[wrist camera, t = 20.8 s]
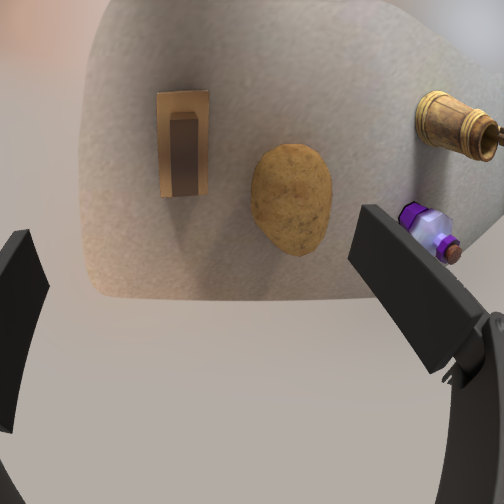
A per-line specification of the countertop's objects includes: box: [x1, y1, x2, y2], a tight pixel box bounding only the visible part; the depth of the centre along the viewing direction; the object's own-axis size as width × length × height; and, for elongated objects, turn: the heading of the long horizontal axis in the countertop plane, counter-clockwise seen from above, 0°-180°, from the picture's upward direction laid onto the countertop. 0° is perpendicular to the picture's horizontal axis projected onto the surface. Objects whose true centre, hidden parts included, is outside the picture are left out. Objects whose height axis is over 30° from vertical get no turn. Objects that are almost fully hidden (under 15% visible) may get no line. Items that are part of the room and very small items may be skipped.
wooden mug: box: [415, 91, 504, 162], centre depth 28 cm, size 9×14×18 cm, turn 106°
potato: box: [251, 144, 332, 257], centre depth 34 cm, size 10×14×8 cm
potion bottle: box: [398, 201, 462, 265], centre depth 40 cm, size 9×9×12 cm
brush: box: [157, 89, 209, 198], centre depth 27 cm, size 11×5×8 cm, turn 177°
